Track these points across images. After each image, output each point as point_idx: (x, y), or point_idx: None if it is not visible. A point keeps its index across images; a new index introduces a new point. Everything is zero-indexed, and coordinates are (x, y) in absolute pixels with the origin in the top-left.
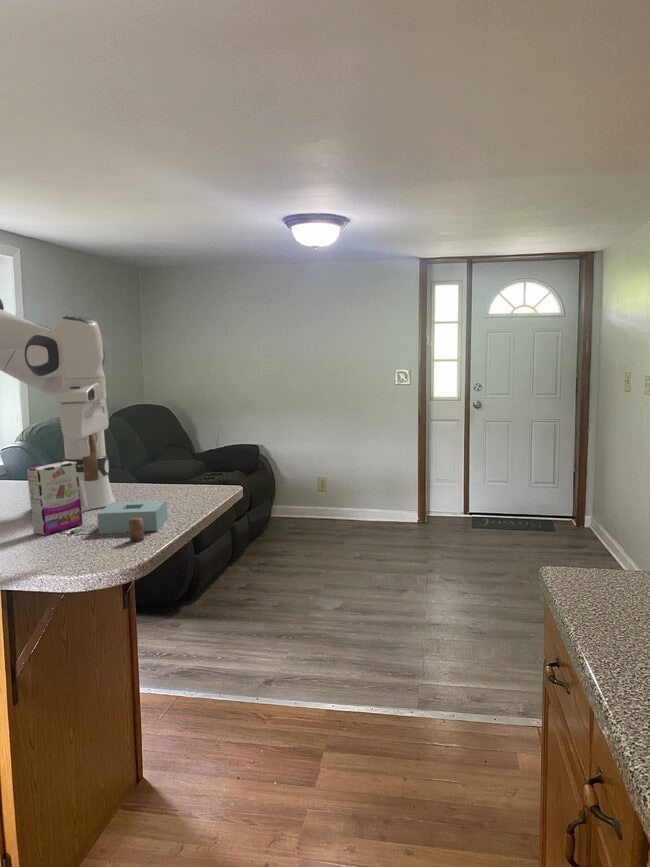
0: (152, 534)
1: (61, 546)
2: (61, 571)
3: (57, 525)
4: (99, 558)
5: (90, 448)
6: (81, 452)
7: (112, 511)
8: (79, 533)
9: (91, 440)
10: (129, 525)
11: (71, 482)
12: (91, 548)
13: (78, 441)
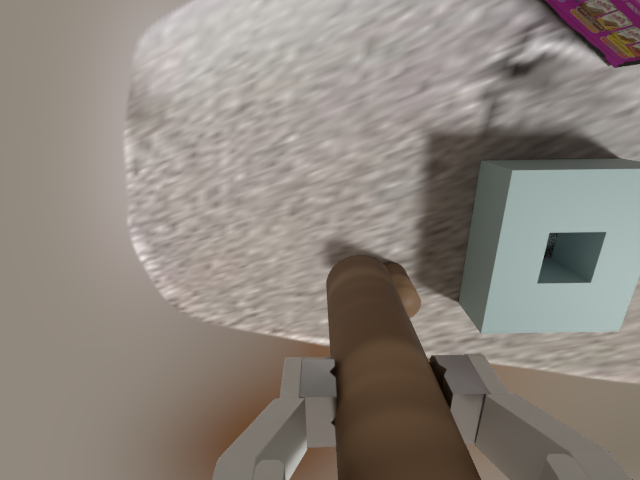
0: (434, 297)
1: (370, 92)
2: (156, 179)
3: (561, 2)
4: (251, 233)
5: (326, 440)
6: (284, 378)
7: (525, 212)
8: (506, 95)
9: None
10: (394, 281)
11: None
12: (336, 187)
13: (219, 468)
